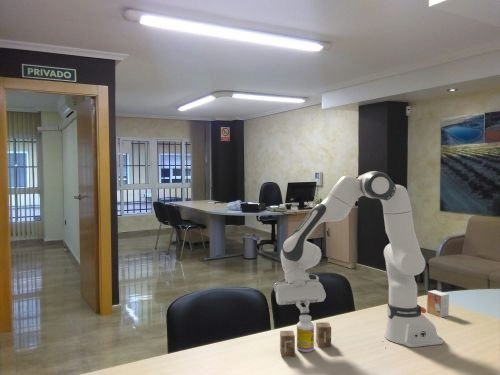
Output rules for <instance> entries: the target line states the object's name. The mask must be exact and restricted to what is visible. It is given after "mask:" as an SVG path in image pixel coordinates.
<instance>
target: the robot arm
mask: <svg viewBox="0 0 500 375" xmlns="http://www.w3.org/2000/svg"><path fill="white" fill-rule="evenodd" d="M329 191H330V192H329V194H327V195H326V198H324V199H323V201H322V202H319V203H318V204H316V205H315V206H314V207H312V209H311V210H310V211H309V212H308V213H307V214H306V216H304V218H303V219H302V221H301V222H300V223H299V224H298V226H297V227H296V228H295V230H294V231H293V232H292V233H291V234H290V235H288V236H287V237H286V238H285V240H284V241H283V242H282V248H281V251H280V261H281V262H280V263H281V266H282V270H283V271H284V279H285V281H276V283H274V284H273V291H274V292H275V299H276V304H277V305H279V306H282V305H293V304H295V306H296V307H297V308H298V309H299V311H300V314H309V313H310V309H309V306H310V304H311V303H321V302H324V301H325V299H327V298H326V297H327V294H326V291H325V289H324V288H325V287H324V286H323V284H322V283H321V282H320V281H319V279H320V277H319V275H316V274H312V273H308V272H306V270H310V269H312V268H313V267H316V266H317V265H319V263H320V262H321V260H322V255H323V254H322V250H321V248H320V246H318V245H316V244H314V243H312V242H310V241H308V238H309V237H310V236H311V235H312V233H313V232H314V231H315V229H316V228H317V227H318V226H319V225H320V224H322V223H323V224H324V223H326V222H339V221H343V220H344V219H345V218H347V216H348V215H349V214H350V213H351V211H352V208H353V207H354V206H355V204H356V201H358V200H359V198H361V197H366V198H368V199H369V198H370V199H377V200H379V201H380V203H381V205H382V210H383V219H384V227H385V228H384V229H385V234H386V235H387V238H388V241H389V243H388V244H387V245H385V247H384V249H383V257H384V260H385V267H386V274H387V280H388V281H387V282H388V302H387V307H386V309H387V324H386V328H385V331H384V337H385V338H386V339H387V340H388V341H390V342H392V343H396V344H399V345H404V346H405V347H408V348H418V347H423V346H424V347H427V346H435V345H442V344H444V339H443V337H442V336H441V335H440V334H439V333H438V332H437V331H438V330H437V328H436V325H435V324H434V322H432V321H431V320H430V319H429V318H427V317H426V316H425V315H424V314H426V313H427V308H425V307H422V306H421V305H419V304H418V284H417V282H416V280H415V279H416V278H415V276H417V275H420V274H421V273H422V272H423V271H424V270H425V267H426V259H425V257H424V255H423V253H422V251H421V246H420V243H419V240H418V237H417V235H416V230H415V225H414V218H413V211H412V210H413V208H412V204H411V199H410V195H409V193H408V190H407V188H406V187H405V186H403V185H401V184H395V183H394V182H393V181H392V179H391V178H390V176H389V175H388V174H386V173H385V172H382V171H377V170H373V171H367V172H364V173H361V174H359V175H358V176H357V177H355V176H352V175H349V174H348V175H343V176H341V177H340V178H339V180H337V182H336V183H335V184H334V185H333V187H332V188H331V190H329ZM302 304H304V305H305V306H302Z"/></svg>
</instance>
